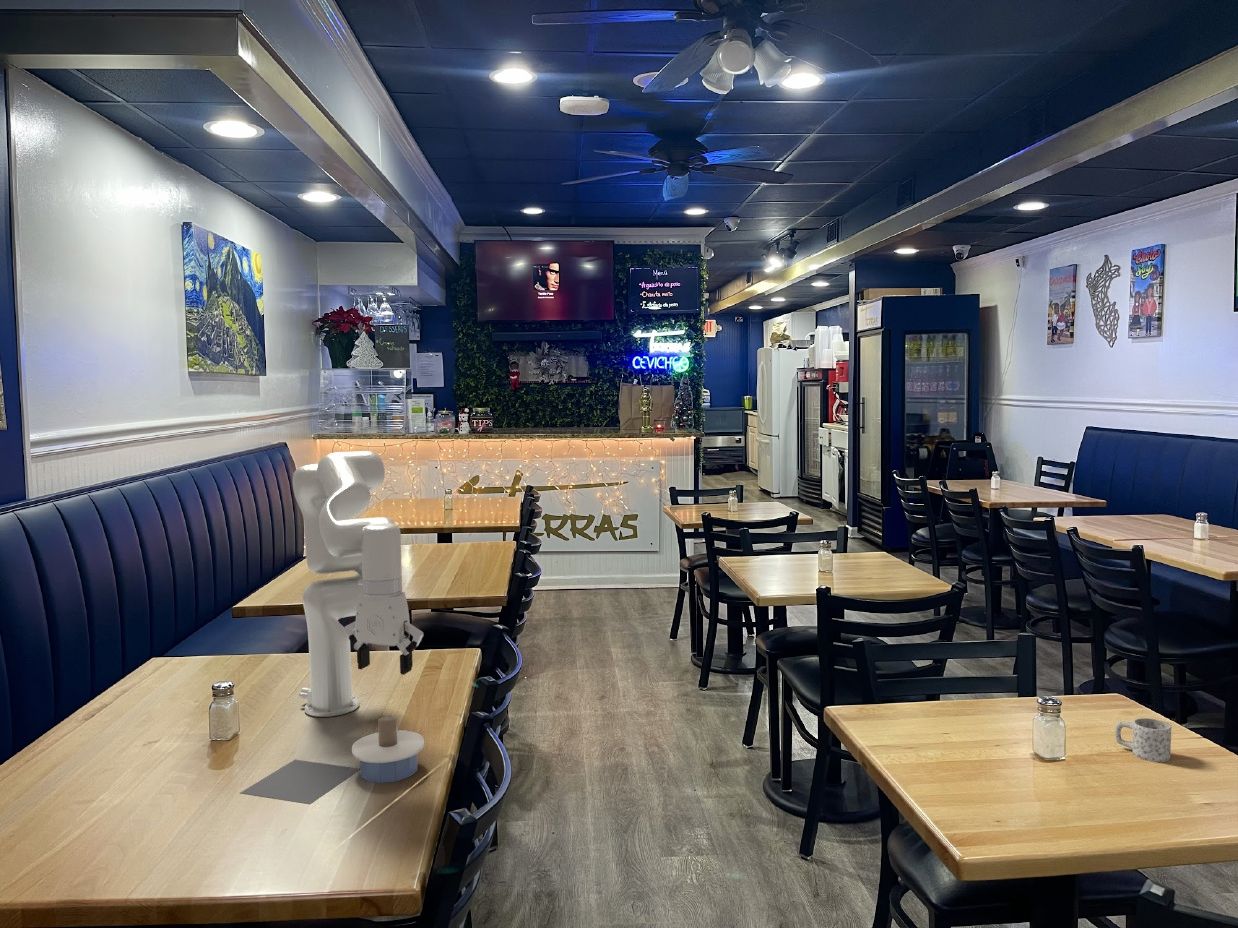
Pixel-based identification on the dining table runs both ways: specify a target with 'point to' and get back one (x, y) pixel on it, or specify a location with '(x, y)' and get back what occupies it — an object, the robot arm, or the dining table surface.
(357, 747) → the lid
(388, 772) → the bowl
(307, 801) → the mat
